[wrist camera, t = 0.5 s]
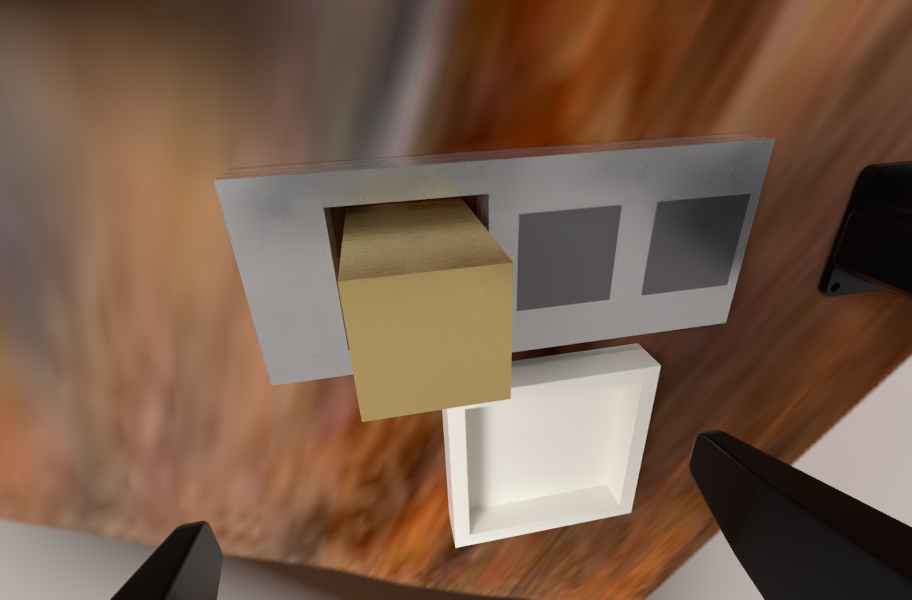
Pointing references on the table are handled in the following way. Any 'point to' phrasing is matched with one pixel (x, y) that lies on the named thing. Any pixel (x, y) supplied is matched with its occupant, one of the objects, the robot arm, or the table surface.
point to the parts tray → (551, 445)
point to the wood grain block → (425, 308)
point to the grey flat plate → (512, 237)
